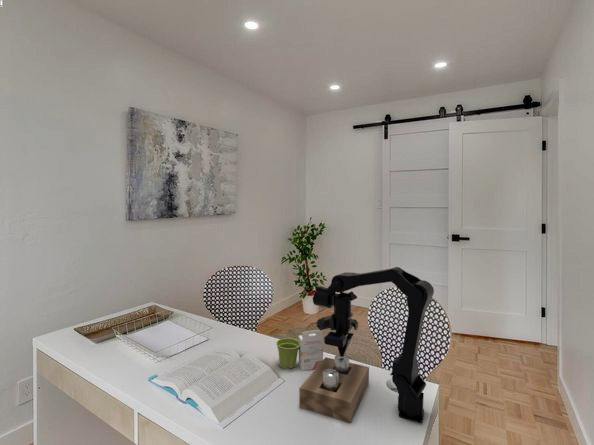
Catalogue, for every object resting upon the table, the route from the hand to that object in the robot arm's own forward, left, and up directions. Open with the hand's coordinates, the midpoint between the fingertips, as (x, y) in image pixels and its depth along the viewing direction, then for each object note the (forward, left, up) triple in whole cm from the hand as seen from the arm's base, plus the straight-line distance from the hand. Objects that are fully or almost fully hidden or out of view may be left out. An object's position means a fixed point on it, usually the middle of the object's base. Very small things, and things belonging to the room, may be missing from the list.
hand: (342, 356), depth 107 cm
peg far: (0, 0, -6) cm, 7 cm away
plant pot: (+23, -5, -11) cm, 26 cm away
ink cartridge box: (+15, -8, -11) cm, 20 cm away
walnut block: (0, +5, -10) cm, 12 cm away
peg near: (0, +11, -6) cm, 13 cm away
